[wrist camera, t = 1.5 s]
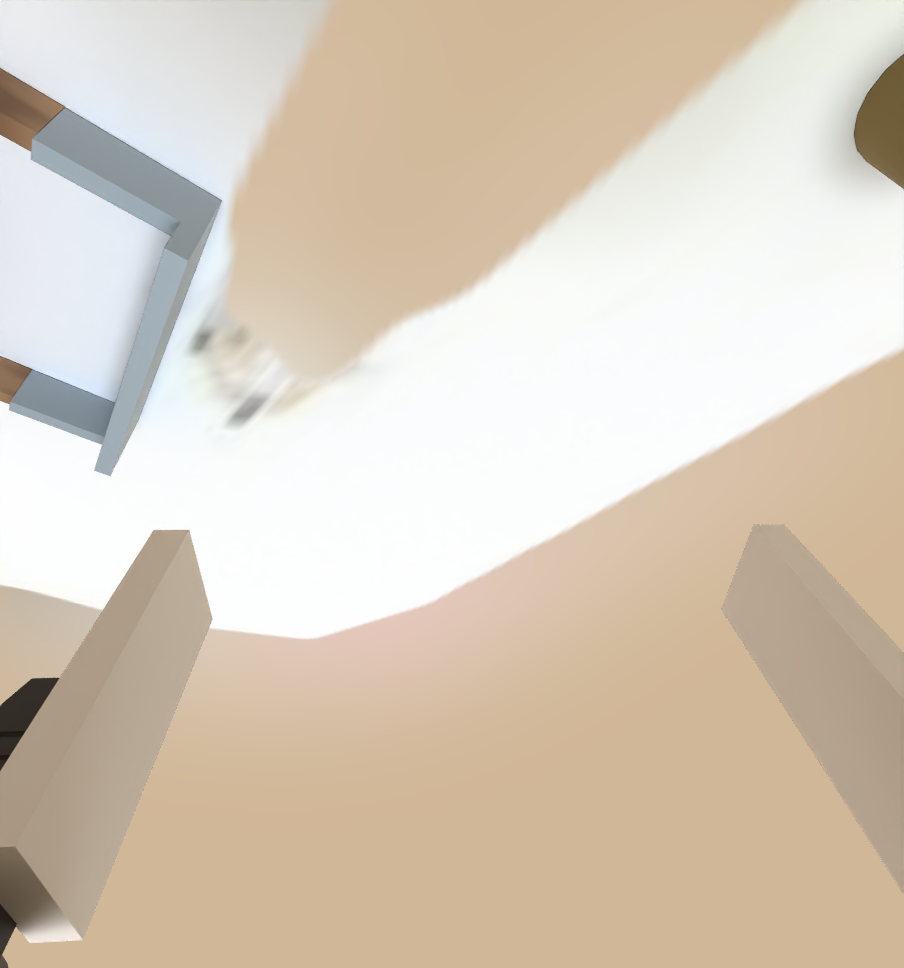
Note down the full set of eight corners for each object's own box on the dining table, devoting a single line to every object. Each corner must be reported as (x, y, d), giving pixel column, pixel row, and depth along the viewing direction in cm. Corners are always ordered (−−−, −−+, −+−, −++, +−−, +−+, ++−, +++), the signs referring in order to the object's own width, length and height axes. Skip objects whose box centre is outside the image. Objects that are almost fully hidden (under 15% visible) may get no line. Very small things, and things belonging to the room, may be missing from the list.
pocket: (31, 378, 46) (-8, 434, 43) (65, 107, 30) (6, 163, 26) (138, 421, 50) (110, 476, 47) (221, 200, 33) (188, 260, 30)
